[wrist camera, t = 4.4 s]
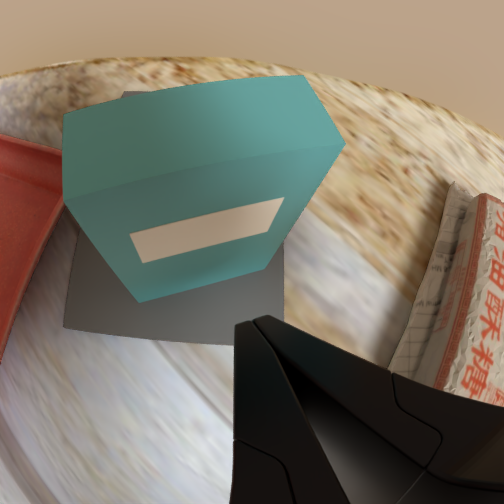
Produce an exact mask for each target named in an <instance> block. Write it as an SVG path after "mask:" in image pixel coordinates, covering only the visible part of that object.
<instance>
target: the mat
mask: <svg viewBox="0 0 504 504" xmlns="http://www.w3.org/2000/svg"><path fill="white" fill-rule="evenodd" d="M142 93H147V92H142V91H124V93H123V95H122V98H124V97H129V96H133V95H138V94H142ZM263 315H271V316H273V317H275V318H277V319H279V320H281V321H283V322H284V250H283V242H282V243H281V245H280V246H279V248H278V249H277V251H276V252H275V254H274V256H273V257H272V259H271V260H270V262H269V263H268V265H267V266H266V268H265V269H263V270H259V271H256V272H252V273H248V274H245V275H241V276H238V277H234V278H230V279H227V280H223V281H219V282H216V283H212V284H208V285H205V286H201V287H197V288H194V289H190V290H186V291H183V292H179V293H175V294H171V295H168V296H164V297H160V298H156V299H152V300H149V301H145V302H141V303H138V301H137V300H136V299H135V298H134V296H133V295H132V294H131V293H130V292H129V290H128V289H127V288H126V287H125V285H124V284H123V283H122V282H121V280H120V279H119V278H118V276H117V275H116V274H115V273H114V271H113V270H112V269H111V267H110V266H109V265H108V263H107V262H106V261H105V260H104V258H103V257H102V256H101V254H100V253H99V251H98V250H97V249H96V247H95V246H94V245H93V243H92V242H91V241H90V239H89V238H88V236H87V235H86V234H85V232H84V231H83V229H82V228H81V227H80V231H79V236H78V240H77V245H76V250H75V254H74V260H73V265H72V270H71V276H70V282H69V288H68V294H67V301H66V309H65V316H64V325H63V327H64V328H68V329H74V330H81V331H87V332H94V333H101V334H109V335H117V336H125V337H133V338H142V339H152V340H162V341H174V342H186V343H200V344H215V345H234V326H235V324H237V323H241V322H244V321H247V320H251V321H252V320H253V319H254V318H257V317H260V316H263Z"/></svg>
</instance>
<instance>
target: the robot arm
mask: <svg viewBox="0 0 504 504" xmlns="http://www.w3.org/2000/svg"><path fill="white" fill-rule="evenodd" d="M233 439H234V441H233V470H232V485H231V493H230V501H229V504H504V407H502V406H497V405H493V404H489V403H485V402H482V401H478V400H474V399H470V398H466V397H463V396H459V395H455V394H452V393H449V392H445V391H442V390H439V389H436V388H433V387H430V386H427V385H424V384H422V383H419V382H417V381H414V380H412V379H409V378H407V377H404V376H402V375H400V374H397V373H395V372H393V373H392V374H391V371H390V370H388V369H385V368H383V367H381V366H379V365H376V364H374V363H372V362H369V361H367V360H365V359H363V358H361V357H358V356H356V355H354V354H352V353H349V352H347V351H345V350H343V349H341V348H339V347H336V346H334V345H332V344H330V343H328V342H326V341H323V340H321V339H319V338H317V337H315V336H313V335H311V334H309V333H306V332H304V331H302V330H300V329H298V328H296V327H294V326H292V325H290V324H288V323H286V322H283V321H281V320H279V319H277V318H275V317H273V316H271V315H263V316H260V317H257V318H254V319H253V320H252V321H251V320H247V321H244V322H241V323H237V324H235V326H234V387H233Z"/></svg>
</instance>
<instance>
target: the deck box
mask: <svg viewBox="0 0 504 504" xmlns="http://www.w3.org/2000/svg"><path fill="white" fill-rule="evenodd" d="M345 144H346V143H345V141H344V140H343V138H342V136H341V135H340V133H339V131H338V129H337V128H336V126H335V124H334V123H333V121H332V119H331V118H330V116H329V114H328V113H327V111H326V109H325V108H324V106H323V105H322V103H321V101H320V100H319V98H318V97H317V95H316V94H315V92H314V90H313V89H312V87H311V86H310V84H309V83H308V81H307V80H306V78H305V77H304V75H295V76H271V77H256V78H244V79H233V80H224V81H215V82H207V83H200V84H193V85H186V86H180V87H174V88H168V89H163V90H157V91H152V92H147V93H142V94H138V95H133V96H129V97H124V98H120V99H116V100H112V101H108V102H104V103H100V104H97V105H93V106H89V107H86V108H82V109H79V110H76V111H72V112H69V113H66V114H63V136H62V184H63V201H64V203H65V205H66V206H67V207H68V209H69V210H70V212H71V213H72V215H73V216H74V218H75V219H76V221H77V222H78V224H79V225H80V226H81V228H82V229H83V231H84V232H85V234H86V235H87V236H88V238H89V239H90V241H91V242H92V243H93V245H94V246H95V247H96V249H97V250H98V251H99V253H100V254H101V256H102V257H103V258H104V260H105V261H106V262H107V263H108V265H109V266H110V267H111V269H112V270H113V271H114V273H115V274H116V275H117V276H118V278H119V279H120V280H121V282H122V283H123V284H124V285H125V287H126V288H127V289H128V290H129V292H130V293H131V294H132V295H133V296H134V298H135V299H136V300H137V301H138V303H141V302H145V301H149V300H152V299H156V298H160V297H164V296H168V295H171V294H175V293H179V292H183V291H186V290H190V289H194V288H197V287H201V286H205V285H208V284H212V283H216V282H219V281H223V280H227V279H230V278H234V277H238V276H241V275H245V274H248V273H252V272H256V271H259V270H263V269H265V268H266V266H267V265H268V263H269V262H270V260H271V259H272V257H273V256H274V254H275V252H276V251H277V249H278V248H279V246H280V245H281V243H282V242H283V240H284V239H285V237H286V236H287V234H288V233H289V231H290V230H291V228H292V227H293V225H294V224H295V222H296V220H297V219H298V217H299V216H300V214H301V213H302V211H303V210H304V208H305V207H306V205H307V204H308V202H309V200H310V199H311V197H312V196H313V194H314V193H315V191H316V190H317V188H318V187H319V185H320V183H321V182H322V180H323V179H324V177H325V176H326V174H327V173H328V171H329V169H330V168H331V166H332V165H333V163H334V162H335V160H336V158H337V157H338V155H339V154H340V152H341V151H342V149H343V147H344V146H345Z"/></svg>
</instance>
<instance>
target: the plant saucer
mask: <svg viewBox="0 0 504 504" xmlns="http://www.w3.org/2000/svg"><path fill="white" fill-rule="evenodd" d="M65 207H66V205H65V203H64V201H63V184H62V150H59V149H55V148H52V147H49V146H45V145H41V144H37V143H33V142H30V141H25V140H22V139H18V138H15V137H11V136H7V135H4V134H0V364H1V360H2V357H3V353H4V350H5V347H6V344H7V341H8V338H9V335H10V332H11V329H12V326H13V323H14V320H15V317H16V314H17V312H18V309H19V306H20V304H21V301H22V298H23V296H24V293H25V291H26V289H27V286H28V284H29V281H30V279H31V277H32V274H33V272H34V270H35V267H36V265H37V263H38V261H39V259H40V256H41V254H42V252H43V250H44V248H45V246H46V244H47V242H48V240H49V238H50V236H51V234H52V232H53V230H54V228H55V226H56V224H57V222H58V220H59V218H60V217H61V215H62V213H63V211H64V209H65Z"/></svg>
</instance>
